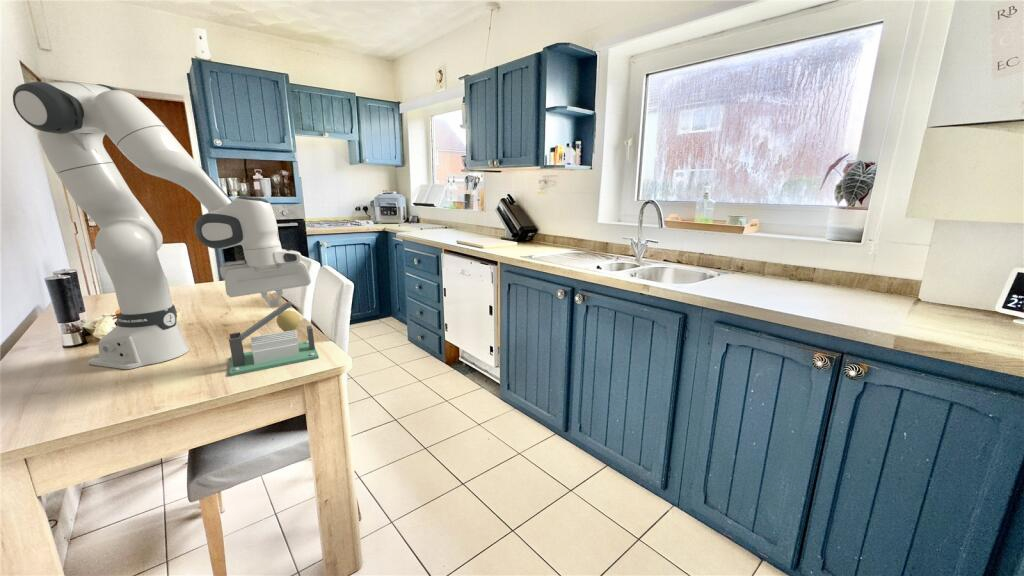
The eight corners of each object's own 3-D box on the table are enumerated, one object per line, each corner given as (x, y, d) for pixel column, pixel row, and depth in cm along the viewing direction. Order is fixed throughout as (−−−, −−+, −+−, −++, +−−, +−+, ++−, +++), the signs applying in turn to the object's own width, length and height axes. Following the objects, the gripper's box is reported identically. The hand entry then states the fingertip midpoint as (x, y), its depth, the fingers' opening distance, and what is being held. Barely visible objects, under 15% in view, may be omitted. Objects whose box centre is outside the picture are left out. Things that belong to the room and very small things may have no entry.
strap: (235, 345, 108) (232, 342, 107) (235, 341, 110) (232, 339, 110) (291, 305, 113) (289, 303, 113) (290, 303, 116) (288, 300, 115)
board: (230, 376, 104) (224, 345, 102) (231, 357, 115) (226, 329, 113) (318, 358, 115) (315, 330, 113) (312, 342, 126) (309, 317, 124)
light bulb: (292, 345, 124) (288, 314, 122) (275, 343, 126) (270, 313, 123) (307, 338, 130) (303, 308, 128) (289, 336, 132) (285, 307, 129)
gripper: (217, 264, 101) (229, 316, 104) (307, 253, 111) (315, 301, 115) (218, 261, 106) (230, 311, 109) (304, 251, 116) (312, 297, 120)
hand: (274, 306), depth 112 cm, fingers closed
